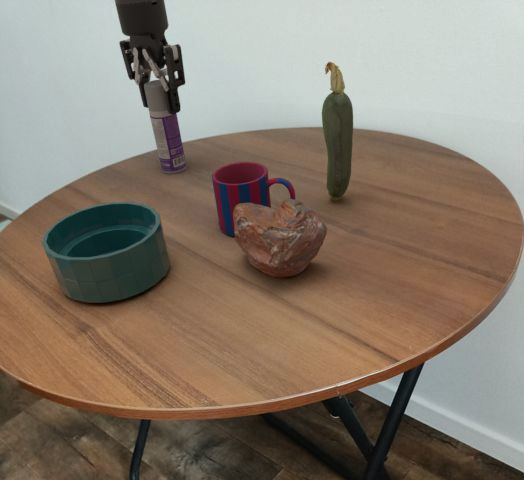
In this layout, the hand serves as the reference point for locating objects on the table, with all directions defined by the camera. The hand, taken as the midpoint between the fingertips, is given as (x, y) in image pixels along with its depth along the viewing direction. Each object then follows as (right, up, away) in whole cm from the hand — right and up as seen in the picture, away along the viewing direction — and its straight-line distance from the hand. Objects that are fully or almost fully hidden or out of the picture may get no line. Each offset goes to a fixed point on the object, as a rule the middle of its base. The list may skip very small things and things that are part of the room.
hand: (162, 109), depth 92 cm
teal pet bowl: (-3, -32, -19) cm, 37 cm away
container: (+1, -8, +7) cm, 11 cm away
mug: (+17, -24, -13) cm, 32 cm away
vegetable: (+29, -19, -9) cm, 36 cm away
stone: (+19, -32, -23) cm, 44 cm away
